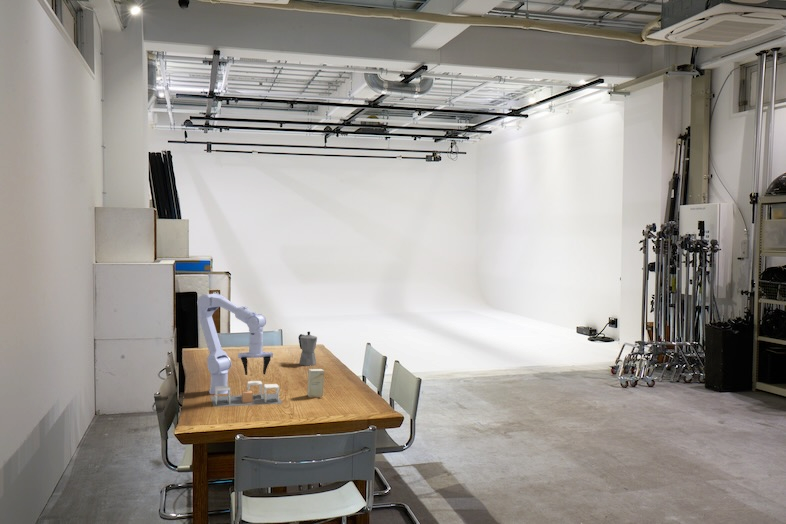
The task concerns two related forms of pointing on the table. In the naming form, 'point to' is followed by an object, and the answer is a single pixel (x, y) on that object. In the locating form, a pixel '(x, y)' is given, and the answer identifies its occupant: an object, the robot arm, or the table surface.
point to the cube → (247, 396)
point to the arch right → (271, 386)
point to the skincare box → (315, 382)
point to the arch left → (222, 388)
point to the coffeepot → (307, 349)
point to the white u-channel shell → (251, 383)
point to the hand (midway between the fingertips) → (255, 374)
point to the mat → (237, 401)
